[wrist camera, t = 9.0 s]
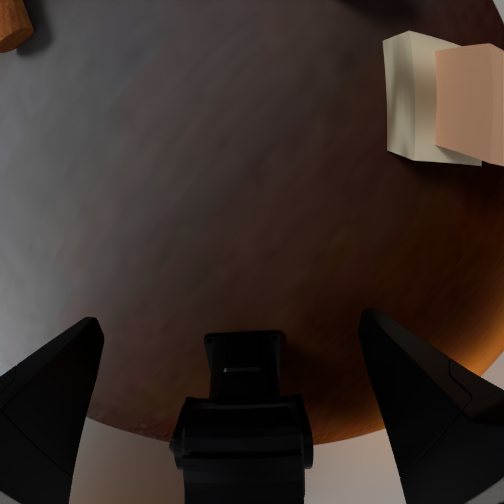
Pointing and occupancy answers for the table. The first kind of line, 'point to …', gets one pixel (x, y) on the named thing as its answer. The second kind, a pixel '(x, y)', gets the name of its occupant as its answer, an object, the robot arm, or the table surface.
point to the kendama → (13, 25)
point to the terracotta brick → (471, 101)
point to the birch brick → (415, 99)
